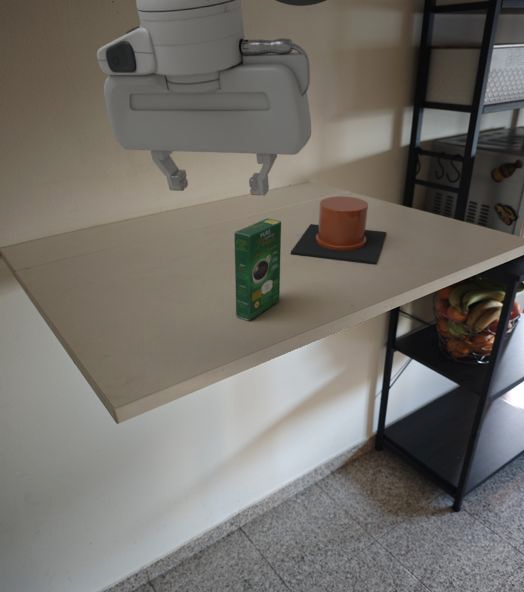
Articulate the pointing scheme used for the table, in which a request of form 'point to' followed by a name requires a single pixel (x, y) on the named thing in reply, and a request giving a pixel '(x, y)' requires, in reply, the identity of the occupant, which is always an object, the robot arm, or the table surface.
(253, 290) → the coffee box
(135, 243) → the table surface
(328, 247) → the stand
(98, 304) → the table surface
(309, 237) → the mat
